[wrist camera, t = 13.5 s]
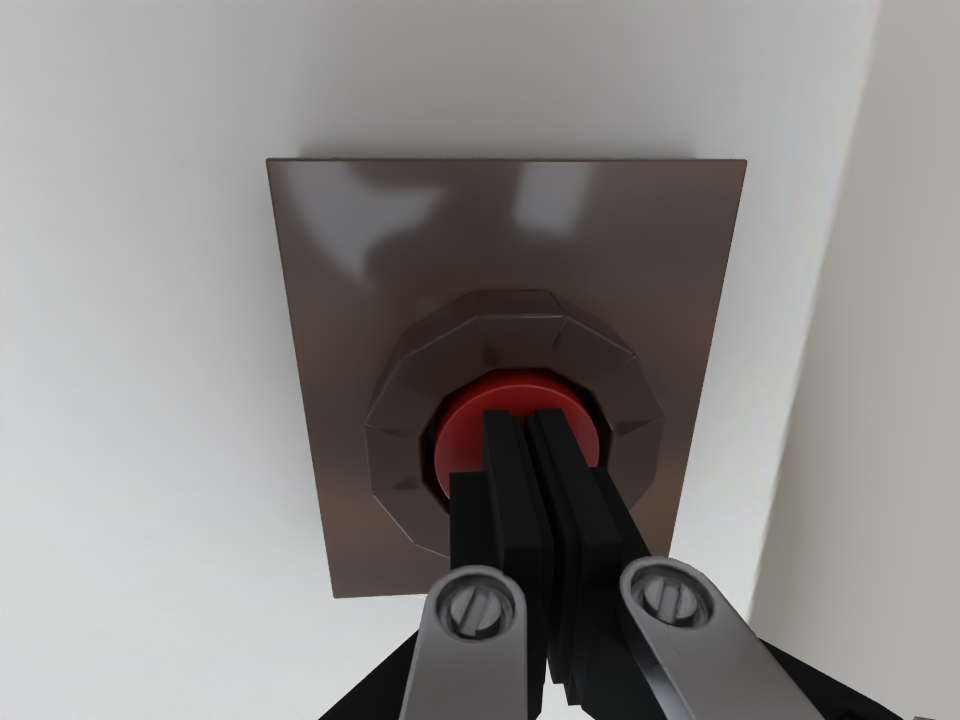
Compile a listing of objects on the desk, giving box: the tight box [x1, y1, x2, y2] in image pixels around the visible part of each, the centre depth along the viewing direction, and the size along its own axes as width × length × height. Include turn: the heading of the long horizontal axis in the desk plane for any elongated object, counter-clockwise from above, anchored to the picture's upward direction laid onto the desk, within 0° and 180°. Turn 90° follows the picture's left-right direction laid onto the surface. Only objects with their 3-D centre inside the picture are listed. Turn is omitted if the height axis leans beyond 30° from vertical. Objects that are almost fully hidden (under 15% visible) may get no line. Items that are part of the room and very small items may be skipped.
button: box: [434, 368, 599, 499], centre depth 11 cm, size 4×4×2 cm
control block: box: [266, 157, 747, 598], centre depth 12 cm, size 12×10×4 cm
